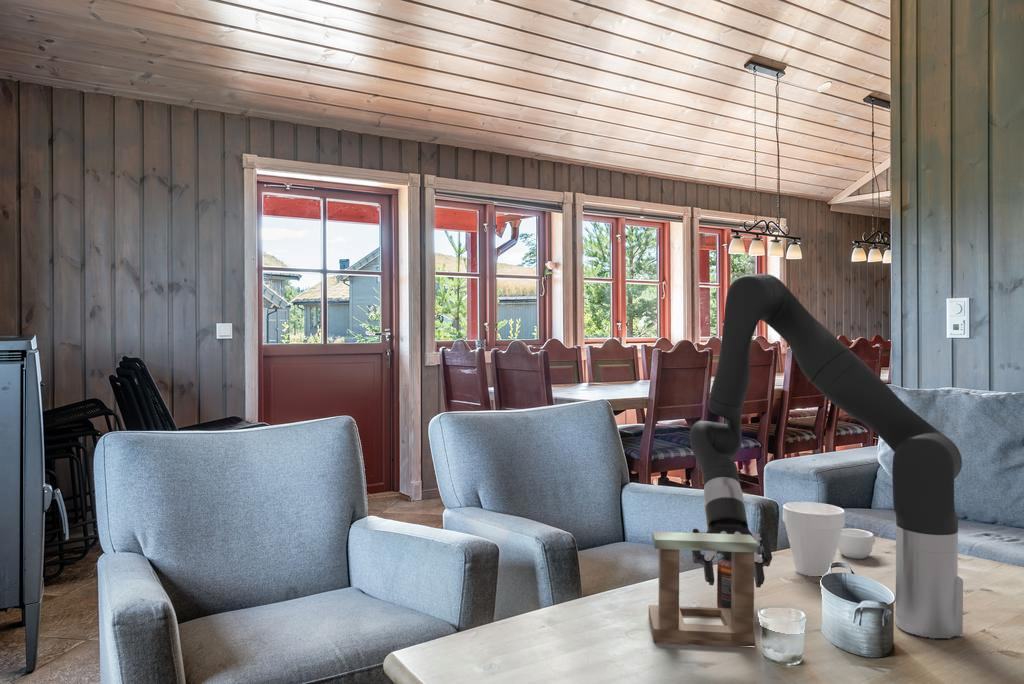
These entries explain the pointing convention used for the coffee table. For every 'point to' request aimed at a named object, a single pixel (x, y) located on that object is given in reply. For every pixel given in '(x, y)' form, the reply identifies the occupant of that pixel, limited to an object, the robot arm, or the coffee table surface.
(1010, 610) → the coffee table surface
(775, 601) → the coffee table surface
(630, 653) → the coffee table surface
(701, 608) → the socket stand
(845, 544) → the teacup
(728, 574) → the supplement bottle
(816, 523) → the white flower pot
